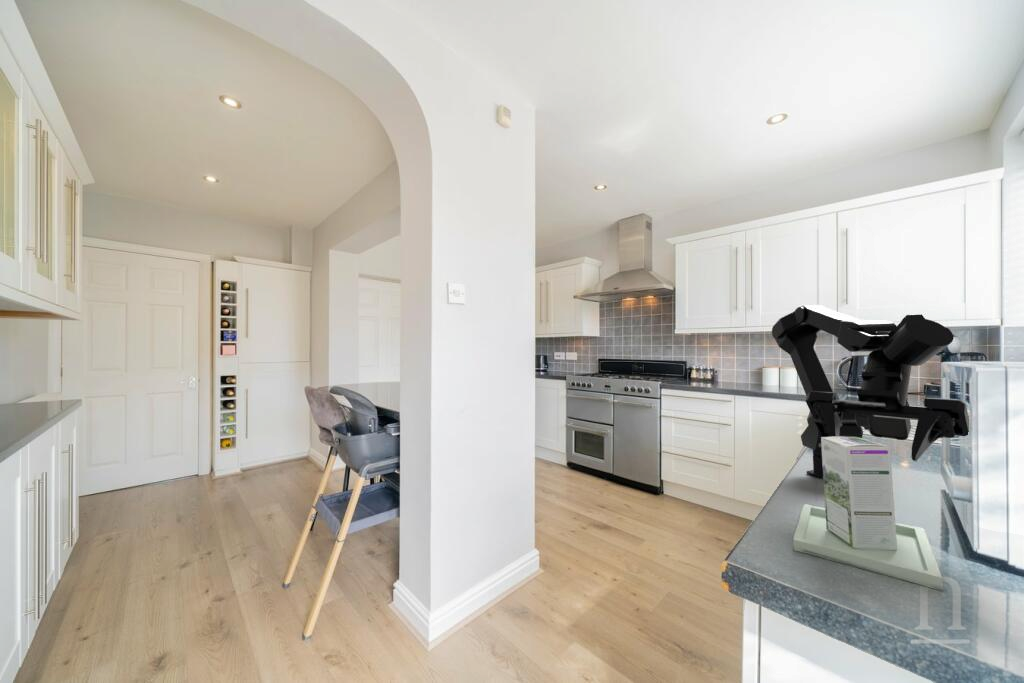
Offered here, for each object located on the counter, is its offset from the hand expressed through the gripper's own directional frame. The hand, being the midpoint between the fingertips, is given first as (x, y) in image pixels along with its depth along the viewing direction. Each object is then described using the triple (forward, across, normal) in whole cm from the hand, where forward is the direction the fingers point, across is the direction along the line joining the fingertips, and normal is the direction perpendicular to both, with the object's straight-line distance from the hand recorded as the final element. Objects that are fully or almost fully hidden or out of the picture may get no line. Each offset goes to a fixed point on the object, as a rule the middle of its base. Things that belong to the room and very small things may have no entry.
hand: (871, 452), depth 59 cm
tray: (+14, 0, -3) cm, 14 cm away
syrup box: (+13, 0, -3) cm, 14 cm away
